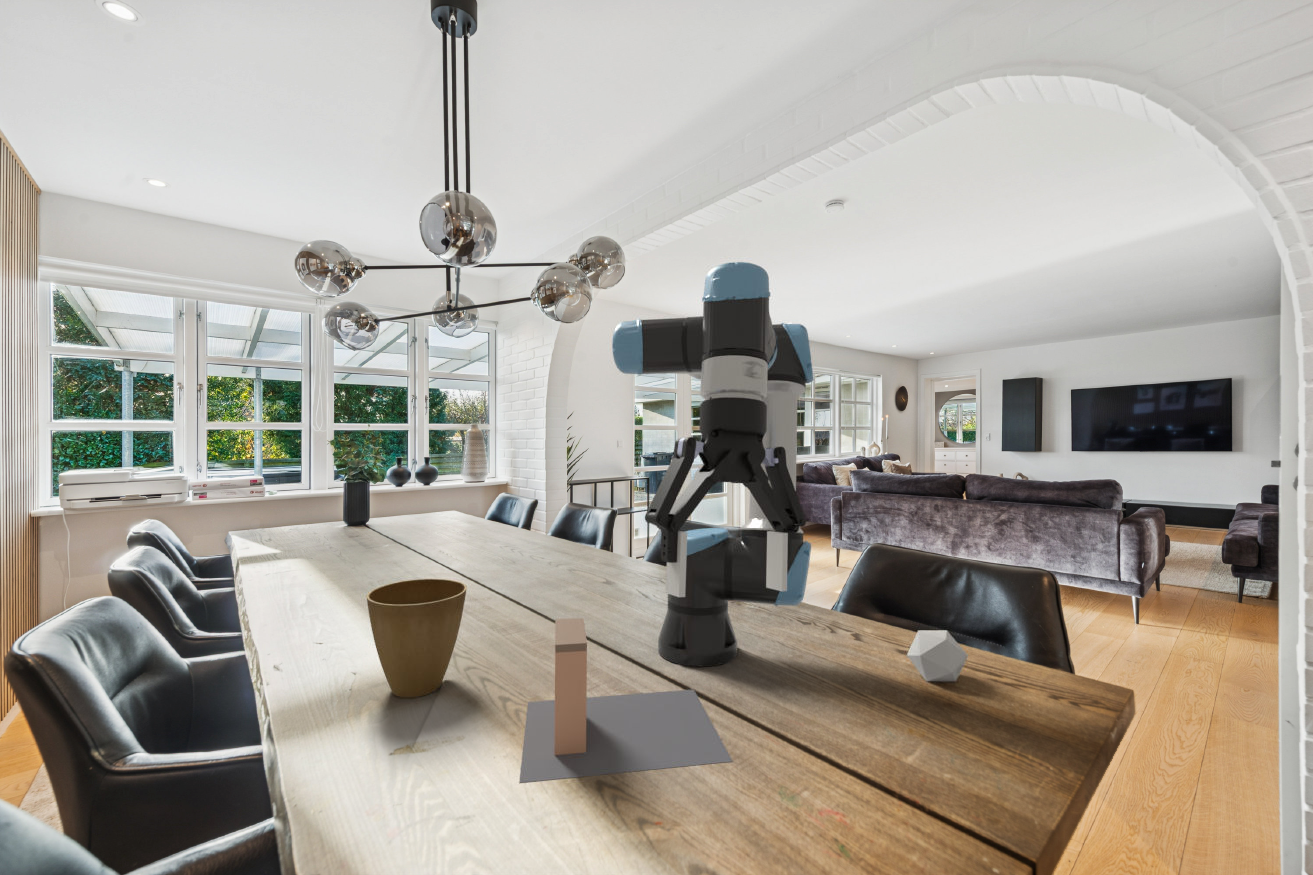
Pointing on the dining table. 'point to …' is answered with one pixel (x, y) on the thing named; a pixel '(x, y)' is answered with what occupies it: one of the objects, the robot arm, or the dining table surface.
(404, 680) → the plant pot
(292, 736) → the dining table surface
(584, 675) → the pink rectangular block
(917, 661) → the die
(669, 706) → the mat
